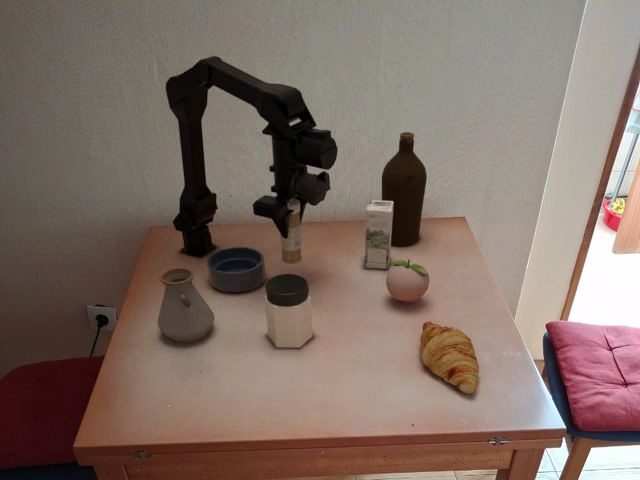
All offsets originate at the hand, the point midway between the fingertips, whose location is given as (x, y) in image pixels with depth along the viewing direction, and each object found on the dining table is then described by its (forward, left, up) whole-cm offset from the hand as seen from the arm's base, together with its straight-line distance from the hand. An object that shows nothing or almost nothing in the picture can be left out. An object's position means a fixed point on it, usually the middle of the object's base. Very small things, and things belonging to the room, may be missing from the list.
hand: (291, 233), depth 133 cm
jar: (+11, -20, -12) cm, 26 cm away
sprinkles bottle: (0, 0, -7) cm, 7 cm away
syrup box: (+13, +16, -12) cm, 24 cm away
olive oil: (+12, +31, -12) cm, 36 cm away
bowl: (-12, -6, -11) cm, 17 cm away
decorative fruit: (+26, +3, -12) cm, 29 cm away
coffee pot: (-4, -31, -12) cm, 34 cm away
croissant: (+42, -14, -12) cm, 46 cm away
